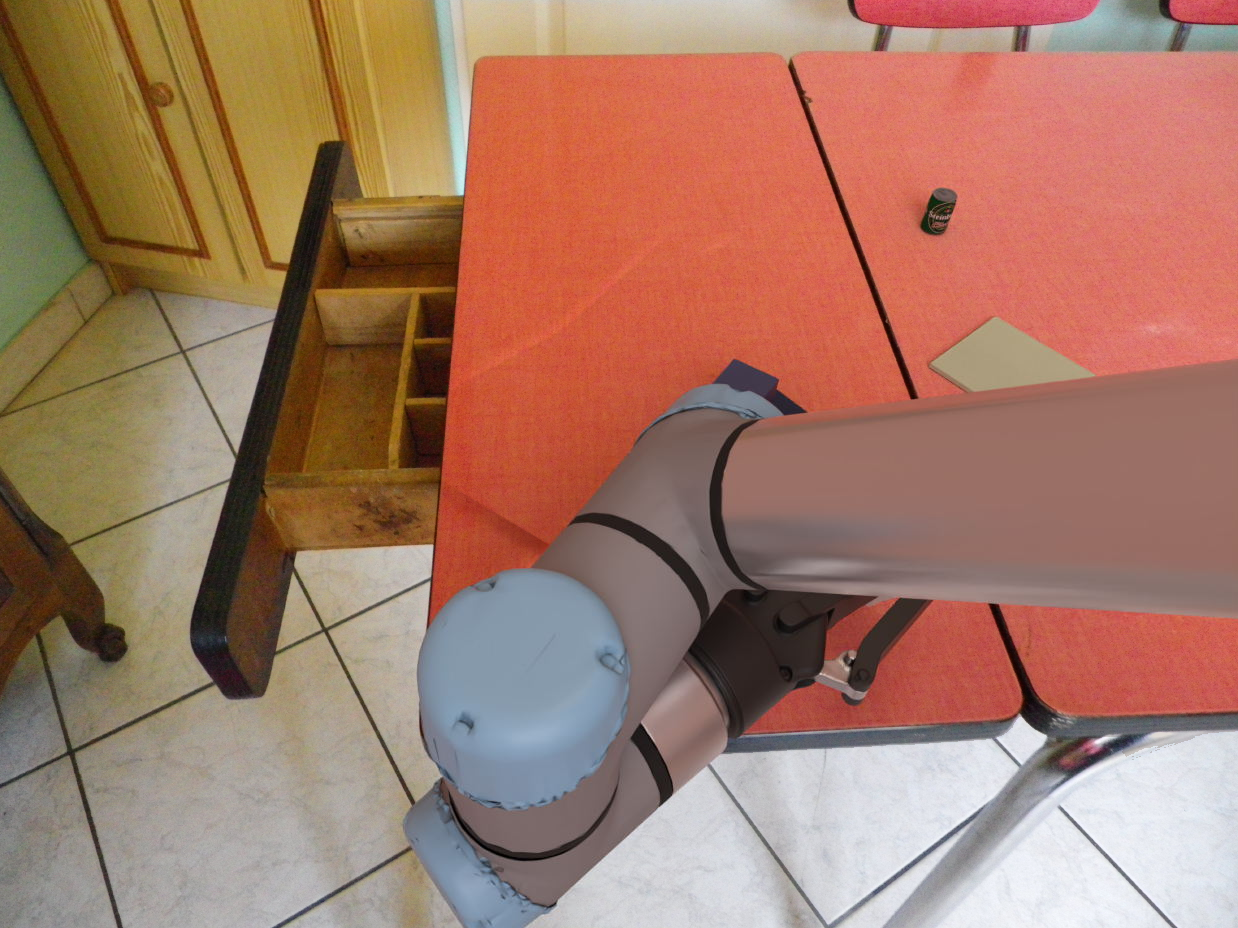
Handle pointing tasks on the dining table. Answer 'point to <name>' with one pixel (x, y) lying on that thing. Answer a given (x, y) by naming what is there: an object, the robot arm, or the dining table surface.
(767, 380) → the navy block
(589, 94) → the dining table surface
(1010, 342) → the light mat
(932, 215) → the beer can
